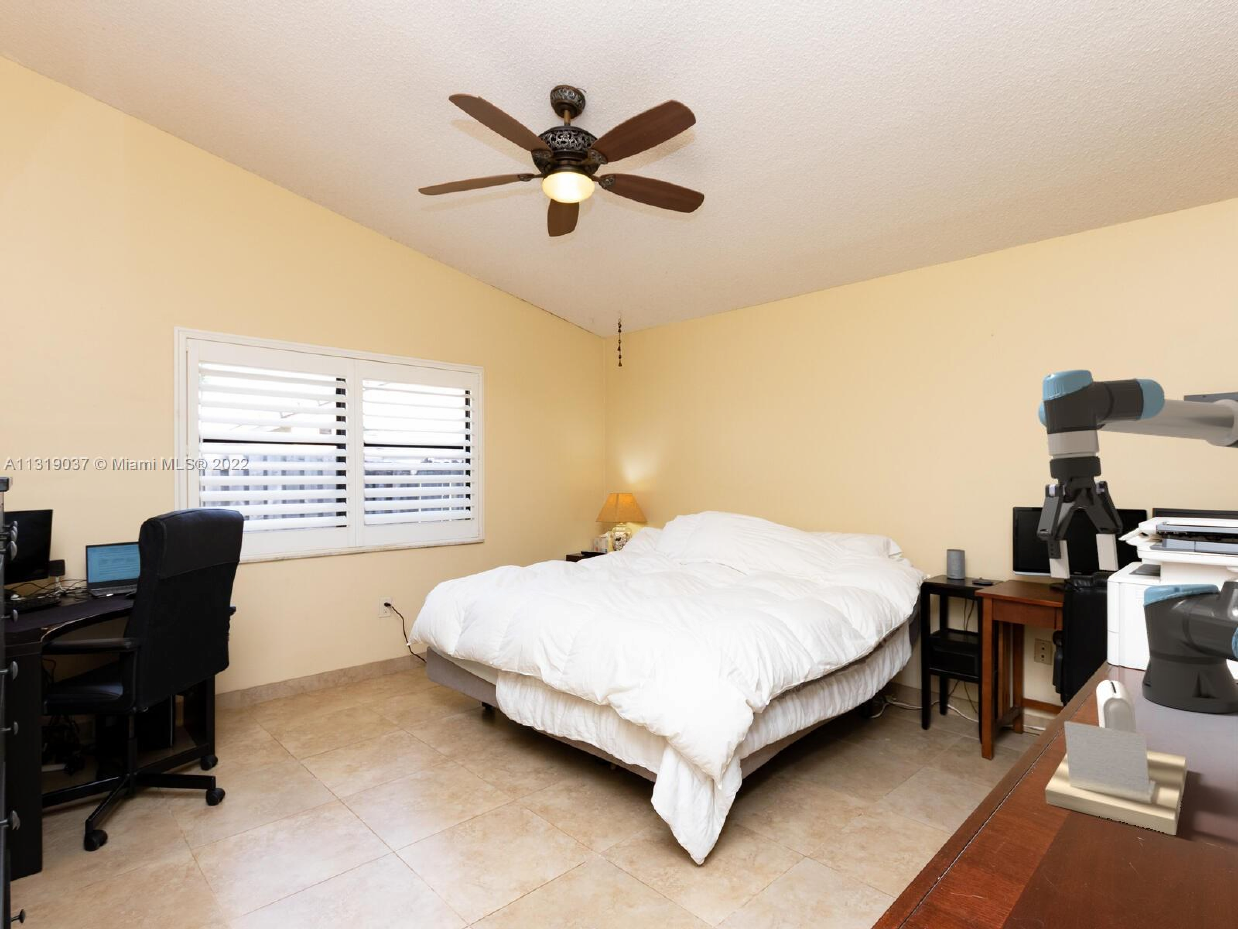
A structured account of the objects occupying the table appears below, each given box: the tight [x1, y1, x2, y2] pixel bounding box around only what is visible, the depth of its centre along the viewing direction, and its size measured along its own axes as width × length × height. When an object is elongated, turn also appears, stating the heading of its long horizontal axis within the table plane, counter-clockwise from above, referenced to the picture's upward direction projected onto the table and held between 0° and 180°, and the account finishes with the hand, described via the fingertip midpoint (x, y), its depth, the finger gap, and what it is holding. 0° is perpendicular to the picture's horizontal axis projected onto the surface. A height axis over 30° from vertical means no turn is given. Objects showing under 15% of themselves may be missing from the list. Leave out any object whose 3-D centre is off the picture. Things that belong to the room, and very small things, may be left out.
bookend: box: [1063, 720, 1156, 805], centre depth 91 cm, size 7×9×9 cm
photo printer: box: [1095, 679, 1137, 733], centre depth 97 cm, size 10×4×12 cm, turn 147°
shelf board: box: [1044, 749, 1188, 836], centre depth 95 cm, size 24×14×2 cm, turn 135°
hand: (1085, 573), depth 114 cm, fingers open, 13 cm apart
